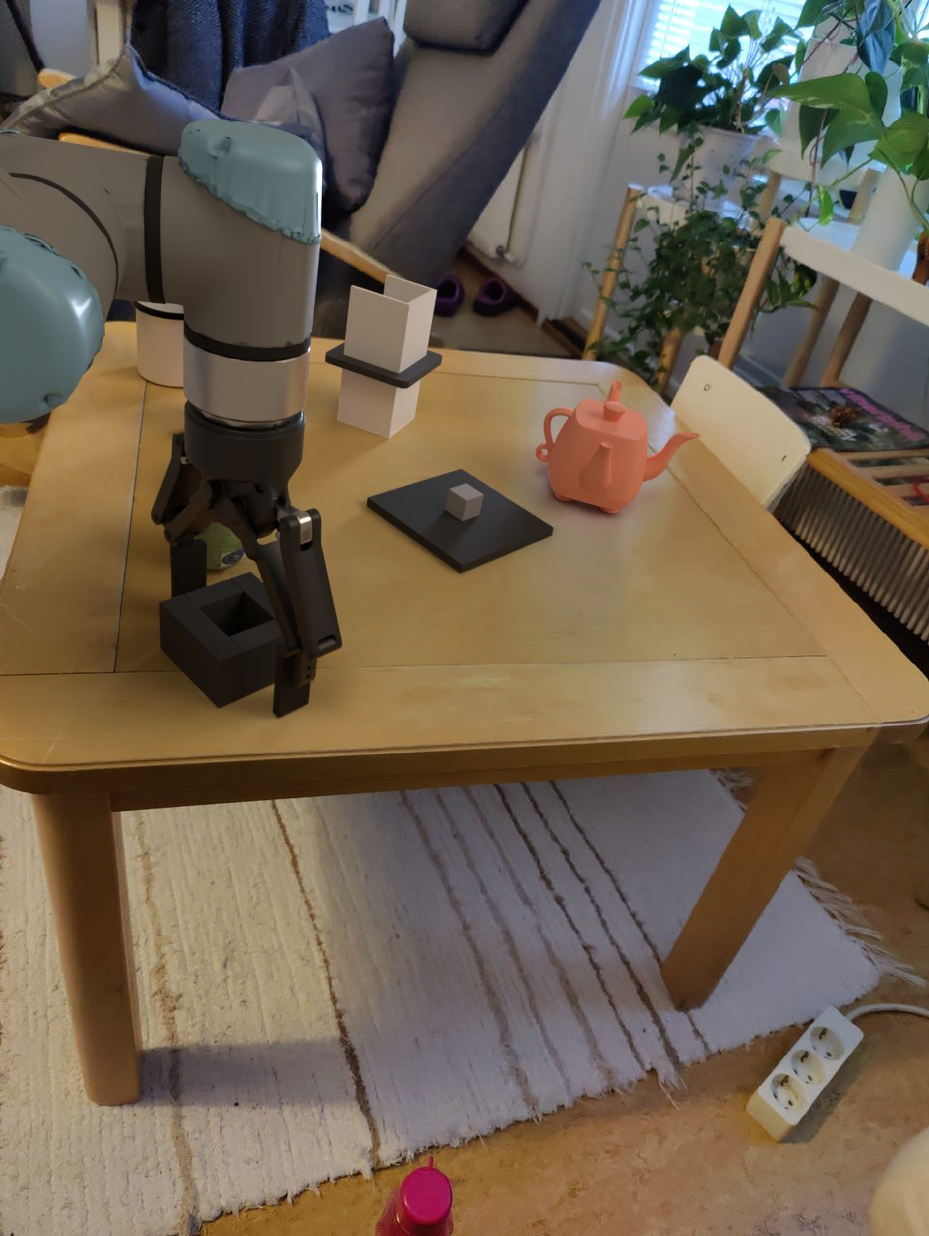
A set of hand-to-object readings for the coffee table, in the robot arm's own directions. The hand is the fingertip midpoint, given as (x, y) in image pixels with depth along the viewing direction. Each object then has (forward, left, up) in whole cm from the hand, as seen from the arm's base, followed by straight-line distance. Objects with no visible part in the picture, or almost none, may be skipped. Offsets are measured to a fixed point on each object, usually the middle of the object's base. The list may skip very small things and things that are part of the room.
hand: (237, 658), depth 68 cm
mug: (-49, +24, 0) cm, 55 cm away
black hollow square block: (0, 0, 0) cm, 0 cm away
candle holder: (-28, +39, -1) cm, 48 cm away
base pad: (-6, +31, 0) cm, 32 cm away
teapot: (-2, +51, 0) cm, 51 cm away
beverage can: (-12, +6, 0) cm, 14 cm away
